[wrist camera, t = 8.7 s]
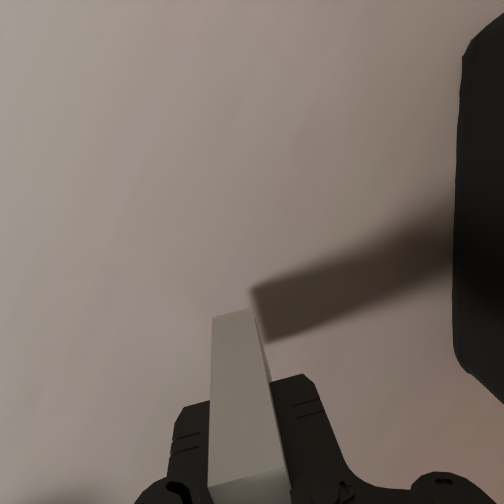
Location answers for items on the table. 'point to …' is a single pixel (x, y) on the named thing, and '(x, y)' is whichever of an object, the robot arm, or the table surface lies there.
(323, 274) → the table surface
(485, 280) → the film camera
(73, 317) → the table surface
